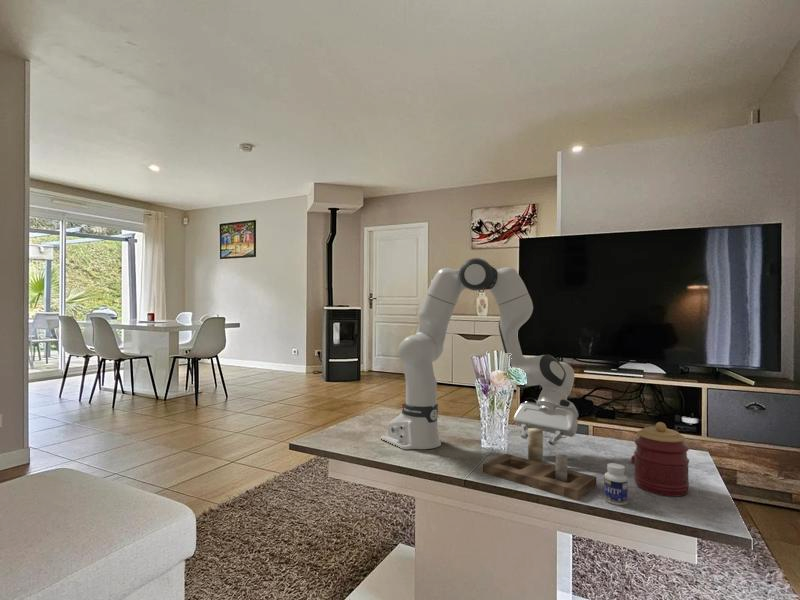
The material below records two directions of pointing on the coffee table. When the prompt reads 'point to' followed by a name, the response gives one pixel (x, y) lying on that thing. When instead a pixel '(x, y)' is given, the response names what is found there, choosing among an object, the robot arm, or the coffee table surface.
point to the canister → (661, 461)
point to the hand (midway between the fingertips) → (537, 440)
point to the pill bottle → (615, 484)
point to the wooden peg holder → (542, 475)
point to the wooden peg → (535, 445)
